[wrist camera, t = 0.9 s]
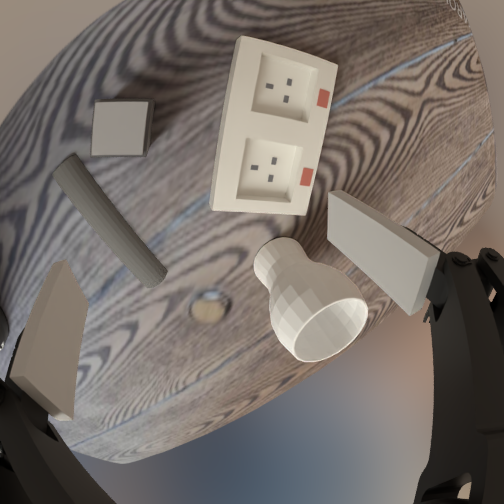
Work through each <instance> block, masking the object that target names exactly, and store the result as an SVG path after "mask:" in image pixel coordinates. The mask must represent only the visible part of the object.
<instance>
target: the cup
mask: <svg viewBox="0 0 504 504" xmlns="http://www.w3.org/2000/svg"><path fill="white" fill-rule="evenodd" d="M254 271H255V274H256V276H257V277H258V278H259V280H260V281H261V282H262V283H263V284H264V285H265V286H266V287H267V288H268V290H269V292H270V301H269V311H270V318H271V324H272V326H273V329H274V331H275V333H276V335H277V337H278V339H279V341H280V342H281V343H282V344H283V345H284V346H285V347H286V348H287V349H288V350H289V351H290V352H291V353H292V354H293V355H294V356H295V357H296V358H297V359H298V360H301V361H303V362H315V361H321V360H323V359H326V358H329V357H331V356H333V355H335V354H336V353H338V352H340V351H341V350H342V349H344V348H345V347H347V346H348V345H349V344H350V343H351V342H352V341H353V340H354V339H355V338H356V337H357V335H358V334H359V333H360V332H361V330H362V328H363V326H364V325H365V322H366V319H367V317H368V307H367V304H366V302H365V300H364V298H363V296H362V294H361V293H360V291H359V289H358V287H357V286H356V285H355V284H354V283H353V282H352V281H351V280H350V279H349V278H348V277H347V276H346V275H345V274H344V273H343V272H342V271H340V270H338V269H335V268H333V267H331V266H328V265H326V264H323V263H318V262H313V261H312V260H310V259H309V258H308V257H307V255H306V253H305V252H304V250H303V248H302V247H301V245H300V244H299V243H298V242H297V241H296V240H294V239H292V238H287V237H282V238H276V239H274V240H272V241H269V242H268V243H267V244H265V245H264V246H263V247H262V248H261V249H260V250H259V252H258V253H257V255H256V257H255V261H254Z"/></svg>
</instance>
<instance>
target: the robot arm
mask: <svg viewBox="0 0 504 504" xmlns="http://www.w3.org/2000/svg"><path fill="white" fill-rule="evenodd" d="M327 239H328V240H329V241H330V242H331V243H332V244H333V245H334V246H336V247H337V248H338V249H339V250H340V251H341V252H342V253H343V254H345V255H346V256H347V257H348V258H349V259H350V260H351V261H352V262H353V263H355V264H356V265H357V266H358V267H359V268H360V269H361V270H362V271H363V272H364V273H365V274H366V275H368V276H369V277H370V278H371V279H372V280H373V281H374V282H375V283H376V284H377V285H378V286H379V287H380V288H381V289H382V290H384V291H385V292H386V293H387V294H388V295H389V296H390V297H391V298H392V299H393V300H394V301H395V302H396V303H397V304H398V305H399V306H400V307H401V308H402V309H403V310H404V311H405V312H406V313H407V314H408V315H409V316H410V315H412V314H414V313H415V312H417V311H419V310H421V309H422V306H423V304H424V301H425V298H427V299H429V300H430V301H431V303H430V305H429V307H428V310H427V312H426V314H425V317H424V320H423V322H426V320H427V318H428V317H429V316H430V321H429V323H430V325H431V335H432V347H433V365H434V409H433V426H432V439H431V448H430V456H429V461H428V464H427V466H426V468H425V469H424V471H423V472H422V474H421V476H420V479H419V482H418V486H417V491H416V495H415V499H414V503H413V504H504V258H503V257H502V256H501V255H500V254H499V253H498V252H496V251H495V250H494V249H491V248H482V249H481V250H480V253H479V256H478V259H472V260H471V259H470V258H469V257H468V256H467V255H464V254H462V253H460V252H450V253H448V254H446V253H444V252H443V251H441V250H440V249H439V248H437V247H436V246H434V245H433V244H431V243H430V242H429V241H427V240H426V239H423V237H421V236H420V235H417V233H415V232H414V231H412V230H410V229H409V228H407V227H404V226H401V225H400V224H398V223H396V222H395V221H393V220H392V219H390V218H388V217H387V216H385V215H384V214H382V213H380V212H379V211H377V210H375V209H374V208H372V207H370V206H368V205H367V204H365V203H363V202H362V201H360V200H358V199H356V198H355V197H353V196H351V195H349V194H347V193H346V192H344V191H342V190H336V191H330V192H328V230H327ZM493 288H494V289H495V291H496V292H497V293H496V295H495V297H494V299H493V301H492V302H490V300H489V299H488V298H489V296H490V294H491V292H492V290H493ZM88 306H89V303H88V301H87V299H86V298H85V296H84V294H83V292H82V290H81V288H80V287H79V285H78V283H77V281H76V279H75V277H74V275H73V273H72V271H71V269H70V267H69V265H68V263H67V260H66V259H65V260H62V261H59V262H56V263H54V264H53V266H52V268H51V270H50V271H49V274H48V276H47V278H46V280H45V282H44V284H43V286H42V288H41V290H40V292H39V295H38V297H37V299H36V302H35V304H34V306H33V309H32V311H31V313H30V316H29V319H28V321H27V324H26V326H25V328H24V329H23V331H22V332H21V334H20V335H19V337H18V339H17V342H16V345H15V349H14V351H13V354H12V355H13V357H11V361H10V364H9V367H8V371H7V375H6V378H5V382H4V381H3V380H2V379H1V378H0V504H116V503H115V502H114V501H113V500H112V499H111V498H110V497H109V496H108V495H107V493H106V492H105V491H104V490H103V489H102V488H101V487H100V486H99V485H98V484H97V483H96V482H95V480H94V479H93V478H92V477H91V476H90V475H89V473H88V472H87V471H86V470H85V469H84V468H83V466H82V465H81V464H80V462H79V461H78V460H77V459H76V457H75V456H74V455H73V453H72V452H71V451H70V449H69V448H68V446H67V445H66V444H65V442H64V441H63V439H62V438H61V436H60V435H59V433H58V432H57V430H56V429H55V427H54V426H53V425H52V424H51V423H50V422H49V421H48V413H49V414H50V415H51V416H53V417H54V418H55V419H56V420H58V421H68V420H73V414H74V398H75V387H76V377H77V369H78V361H79V354H80V348H81V342H82V336H83V331H84V325H85V320H86V316H87V311H88ZM8 332H9V330H8V324H7V320H6V318H5V315H4V313H3V311H2V309H1V308H0V351H1V350H2V349H3V347H4V345H5V342H6V340H7V337H8ZM469 482H472V483H471V490H470V495H469V499H460V498H457V496H458V493H459V491H460V489H461V487H462V486H463V485H465V484H466V483H469Z"/></svg>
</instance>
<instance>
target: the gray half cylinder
mask: <svg viewBox="0 0 504 504" xmlns="http://www.w3.org/2000/svg"><path fill="white" fill-rule="evenodd" d="M53 177H54V179H55V180H56V181H57V183H58V184H59V186H60V187H61V188H62V190H63V191H64V192H65V194H66V195H67V196H68V198H69V199H70V200H71V202H72V203H73V204H74V206H75V207H76V208H77V209H78V211H79V212H80V213H81V214H82V216H83V217H84V218H85V219H86V221H87V222H88V223H89V224H90V225H91V227H92V228H93V229H94V230H95V232H96V233H97V234H98V235H99V236H100V237H101V239H102V240H103V241H104V242H105V243H106V244H107V246H108V247H109V248H110V249H111V250H112V251H113V252H114V253H115V255H116V256H117V257H118V258H119V259H120V260H121V261H122V262H123V263H124V264H125V266H126V267H127V268H128V269H129V270H130V271H131V272H132V273H133V274H134V275H135V276H136V277H137V278H138V279H139V280H140V281H141V283H142V284H143V285H144V286H145V287H147V288H152V287H155V286H157V285H158V284H159V283H161V282H162V281H163V280H164V278H165V277H166V274H167V270H166V269H165V268H164V267H163V265H162V264H161V263H160V262H159V261H158V260H157V258H156V257H155V256H154V255H153V254H152V253H151V251H150V250H149V249H148V248H147V247H146V246H145V244H144V243H143V242H142V241H141V240H140V238H139V237H138V236H137V235H136V233H135V232H134V231H133V230H132V229H131V227H130V226H129V225H128V224H127V222H126V221H125V220H124V219H123V217H122V216H121V215H120V213H119V212H118V211H117V210H116V208H115V207H114V206H113V204H112V203H111V202H110V201H109V199H108V198H107V197H106V195H105V194H104V193H103V191H102V190H101V189H100V187H99V186H98V185H97V183H96V182H95V180H94V179H93V178H92V176H91V175H90V174H89V172H88V171H87V169H86V168H85V166H84V165H83V164H82V162H81V161H80V159H79V158H78V156H77V155H73V156H71V157H69V158H68V159H66V160H65V161H64V162H63V163H62V164H61V165H60V166H59V167H58V168H57V169H56V170H55V171H54V172H53Z"/></svg>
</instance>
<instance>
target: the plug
mask: <svg viewBox="0 0 504 504" xmlns="http://www.w3.org/2000/svg"><path fill="white" fill-rule="evenodd" d="M154 106H155V101H154V100H153V99H96V100H95V103H94V111H93V122H92V134H91V154H90V157H146V156H147V153H148V150H149V147H150V139H151V130H152V122H153V114H154Z"/></svg>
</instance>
